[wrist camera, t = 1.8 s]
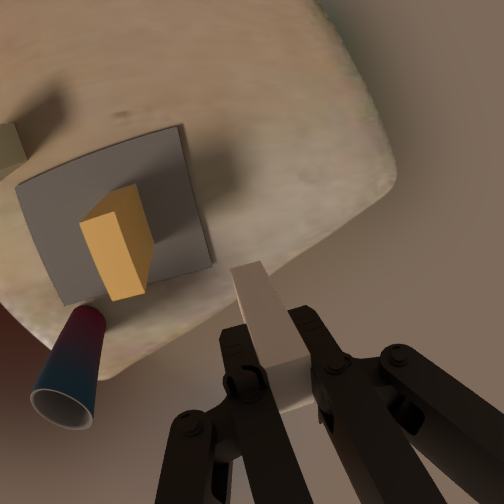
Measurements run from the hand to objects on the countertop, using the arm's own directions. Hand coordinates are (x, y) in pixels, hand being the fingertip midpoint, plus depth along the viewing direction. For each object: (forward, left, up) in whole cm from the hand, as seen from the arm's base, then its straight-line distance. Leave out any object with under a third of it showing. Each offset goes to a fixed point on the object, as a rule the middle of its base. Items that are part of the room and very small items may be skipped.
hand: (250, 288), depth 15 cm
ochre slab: (0, -9, -18) cm, 20 cm away
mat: (0, -12, -19) cm, 22 cm away
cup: (+11, -20, -19) cm, 30 cm away
